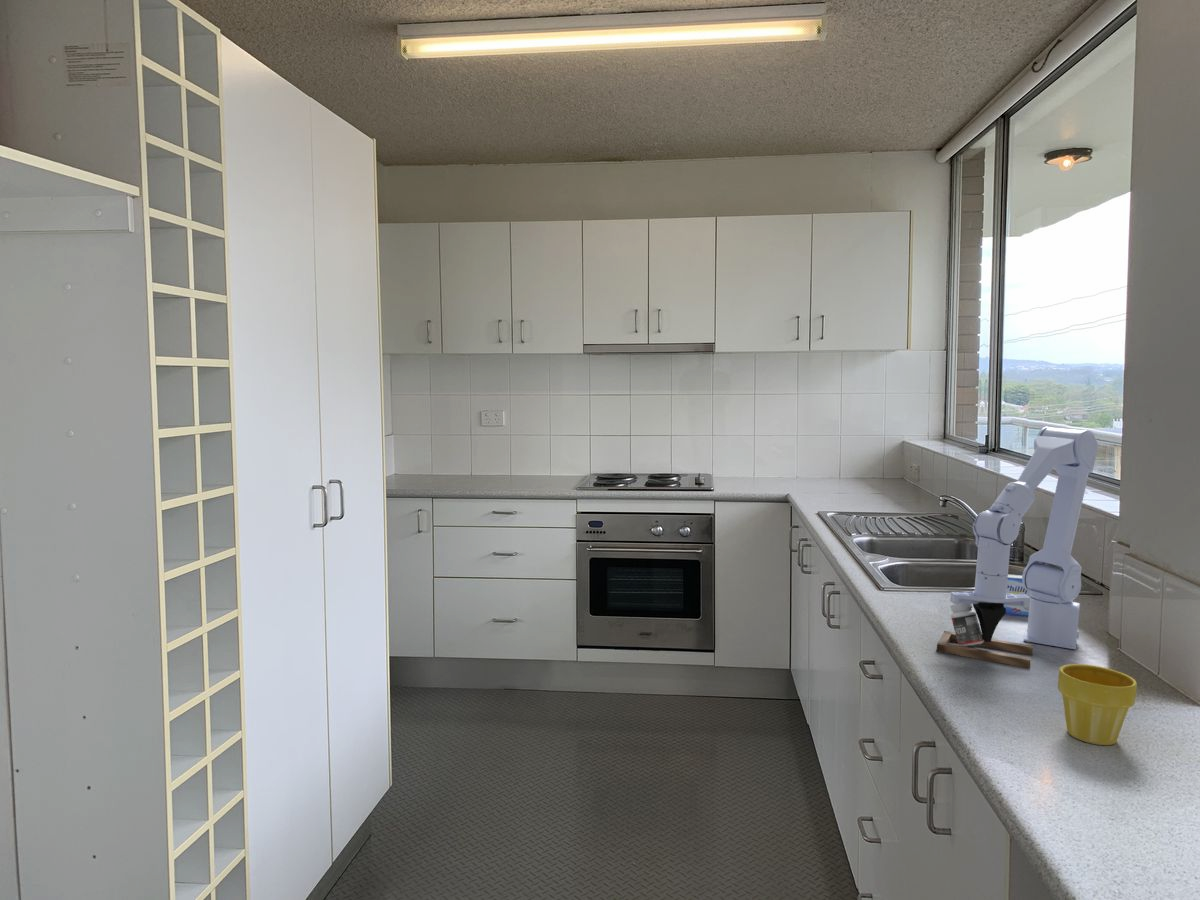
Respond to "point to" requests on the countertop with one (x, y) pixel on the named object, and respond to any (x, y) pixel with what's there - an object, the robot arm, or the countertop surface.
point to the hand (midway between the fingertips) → (986, 640)
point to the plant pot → (1095, 701)
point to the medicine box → (1016, 588)
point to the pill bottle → (966, 625)
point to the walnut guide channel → (987, 655)
